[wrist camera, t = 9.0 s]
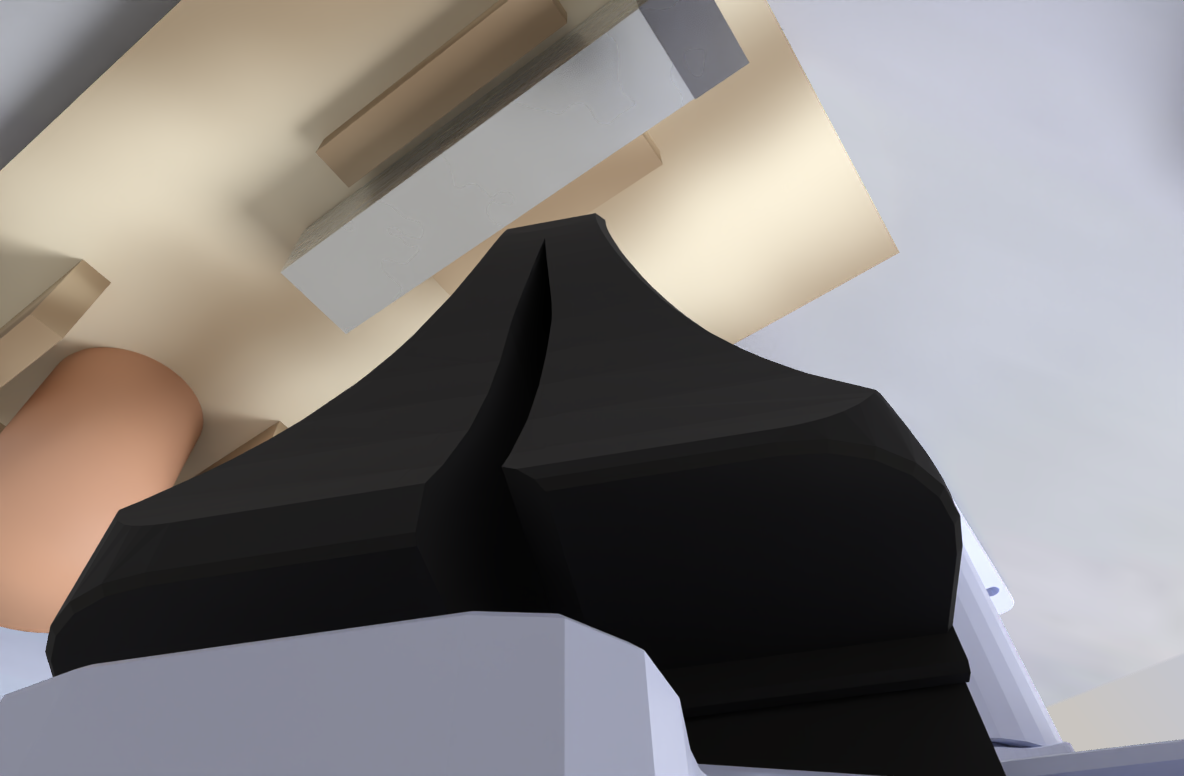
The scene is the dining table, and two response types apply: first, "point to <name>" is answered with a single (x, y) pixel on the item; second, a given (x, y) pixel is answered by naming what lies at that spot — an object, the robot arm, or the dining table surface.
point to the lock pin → (512, 151)
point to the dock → (353, 158)
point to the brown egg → (83, 470)
